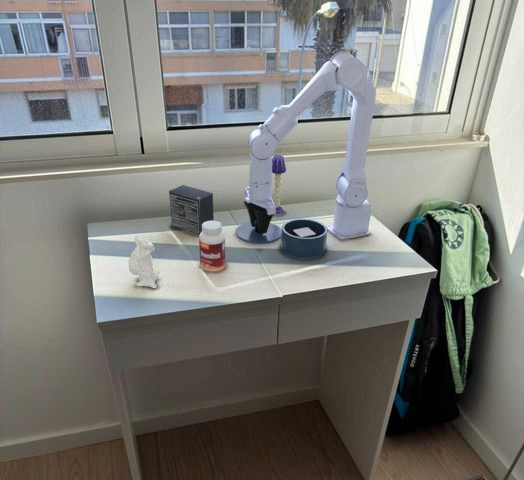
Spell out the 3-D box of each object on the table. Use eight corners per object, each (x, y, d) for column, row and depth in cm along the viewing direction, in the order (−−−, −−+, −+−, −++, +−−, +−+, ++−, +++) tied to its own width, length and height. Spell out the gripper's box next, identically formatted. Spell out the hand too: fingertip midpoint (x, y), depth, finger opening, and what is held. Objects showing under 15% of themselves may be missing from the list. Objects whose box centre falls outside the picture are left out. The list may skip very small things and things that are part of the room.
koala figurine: (165, 288, 118) (160, 241, 111) (136, 294, 116) (129, 246, 109) (156, 271, 124) (151, 225, 117) (128, 276, 122) (121, 229, 115)
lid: (269, 222, 148) (269, 206, 145) (290, 240, 139) (291, 224, 136) (228, 229, 143) (228, 213, 141) (247, 249, 135) (248, 232, 132)
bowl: (310, 236, 142) (312, 215, 138) (333, 254, 134) (336, 233, 130) (273, 243, 138) (274, 223, 134) (294, 263, 130) (296, 242, 126)
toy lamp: (283, 216, 151) (287, 159, 141) (268, 216, 151) (270, 158, 141) (283, 210, 155) (286, 153, 144) (268, 209, 155) (270, 153, 144)
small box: (215, 228, 144) (214, 192, 137) (201, 237, 139) (199, 200, 133) (185, 219, 148) (183, 183, 141) (170, 227, 144) (167, 190, 137)
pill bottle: (197, 271, 125) (195, 229, 118) (203, 259, 130) (201, 218, 123) (223, 273, 125) (222, 231, 118) (227, 261, 129) (227, 220, 123)
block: (306, 242, 138) (307, 227, 135) (314, 249, 135) (316, 234, 132) (291, 245, 136) (292, 230, 133) (299, 253, 133) (301, 237, 130)
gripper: (234, 173, 135) (234, 221, 144) (258, 192, 125) (257, 243, 134) (258, 169, 138) (257, 217, 147) (284, 188, 128) (281, 238, 136)
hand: (259, 229), depth 140 cm, fingers open, 4 cm apart
